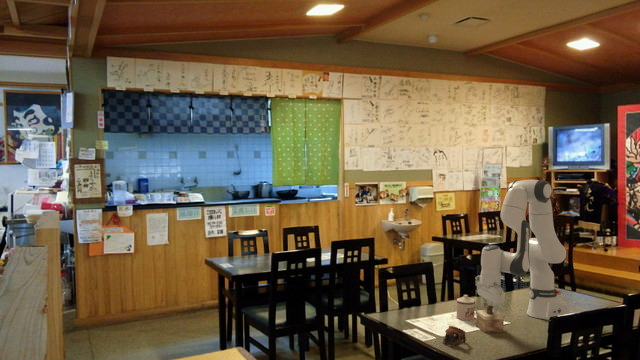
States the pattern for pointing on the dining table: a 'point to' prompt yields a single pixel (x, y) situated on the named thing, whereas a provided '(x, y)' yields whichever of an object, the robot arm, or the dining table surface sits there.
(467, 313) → the teacup with lid
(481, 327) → the box body
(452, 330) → the brown lumpy figurine
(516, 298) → the dining table surface
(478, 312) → the lid
